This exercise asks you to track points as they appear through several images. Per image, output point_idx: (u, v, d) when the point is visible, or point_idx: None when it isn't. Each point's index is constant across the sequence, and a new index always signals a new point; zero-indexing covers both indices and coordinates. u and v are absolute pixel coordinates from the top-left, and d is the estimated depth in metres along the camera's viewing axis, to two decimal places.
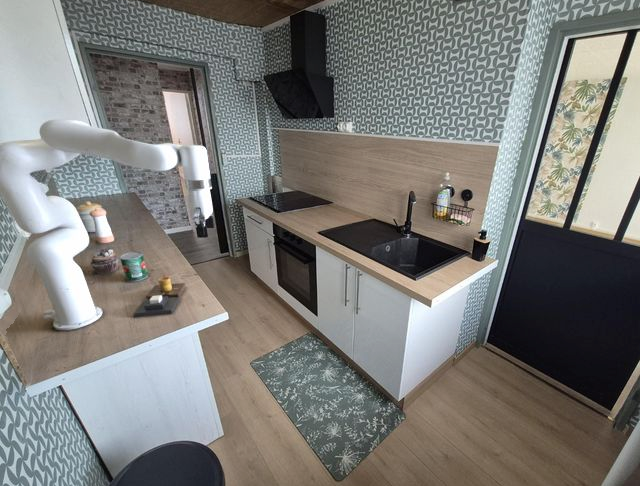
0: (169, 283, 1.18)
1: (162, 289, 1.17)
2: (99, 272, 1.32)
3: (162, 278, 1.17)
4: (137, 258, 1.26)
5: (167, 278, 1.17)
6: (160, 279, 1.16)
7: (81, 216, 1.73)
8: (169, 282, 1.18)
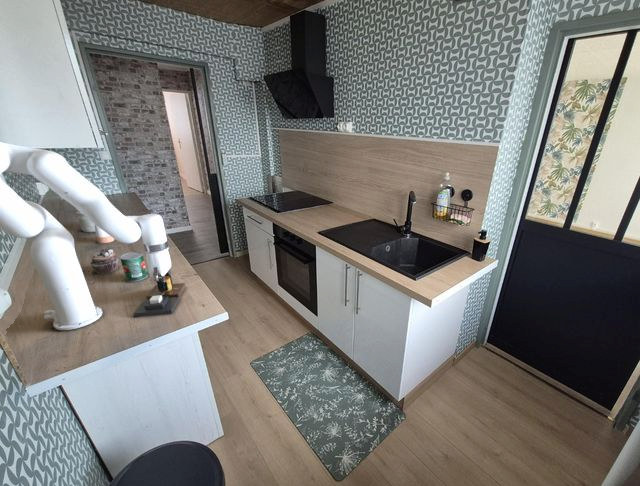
0: (169, 283, 1.18)
1: None
2: (99, 272, 1.32)
3: None
4: (137, 258, 1.26)
5: (167, 278, 1.17)
6: None
7: (81, 216, 1.73)
8: (169, 282, 1.18)
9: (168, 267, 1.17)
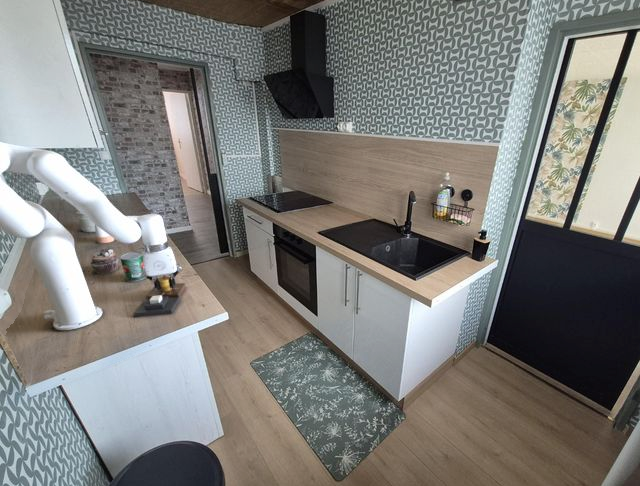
0: None
1: None
2: (99, 272, 1.32)
3: (163, 279, 1.17)
4: (137, 258, 1.26)
5: (165, 276, 1.18)
6: (165, 279, 1.17)
7: (81, 216, 1.73)
8: None
9: None
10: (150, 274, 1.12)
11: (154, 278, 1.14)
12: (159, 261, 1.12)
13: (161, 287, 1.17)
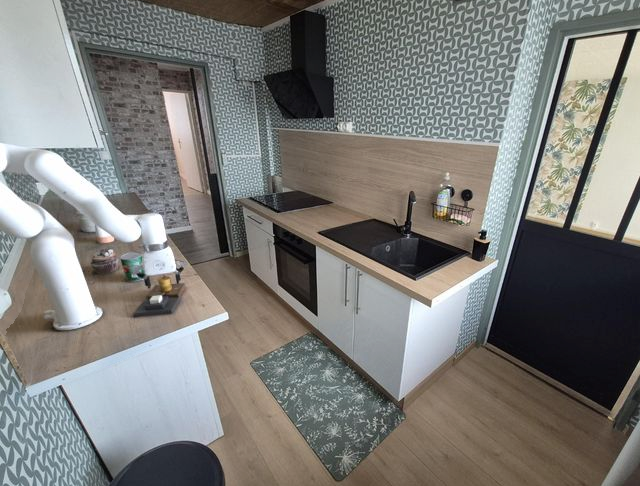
0: None
1: (171, 286, 1.19)
2: (99, 272, 1.32)
3: (163, 279, 1.17)
4: (137, 258, 1.26)
5: (165, 276, 1.18)
6: (165, 279, 1.17)
7: (81, 216, 1.73)
8: None
9: None
10: (149, 273, 1.12)
11: (145, 276, 1.12)
12: (158, 260, 1.12)
13: (161, 287, 1.17)
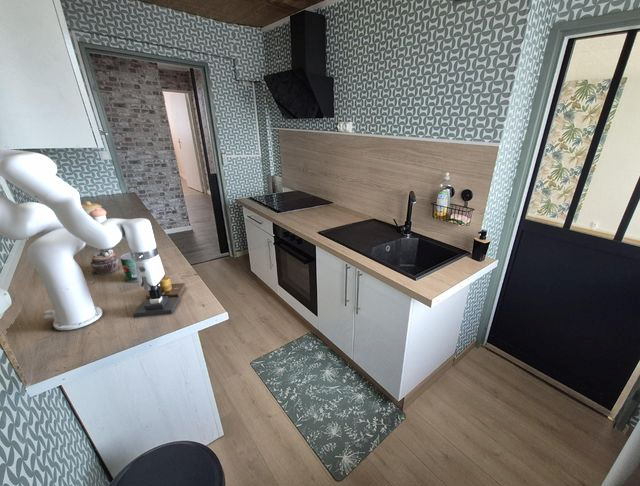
0: None
1: (171, 286, 1.19)
2: (99, 272, 1.32)
3: (163, 279, 1.17)
4: None
5: (165, 276, 1.18)
6: (165, 279, 1.17)
7: None
8: None
9: None
10: (156, 282, 1.04)
11: (156, 285, 1.07)
12: (157, 265, 1.05)
13: (161, 287, 1.17)
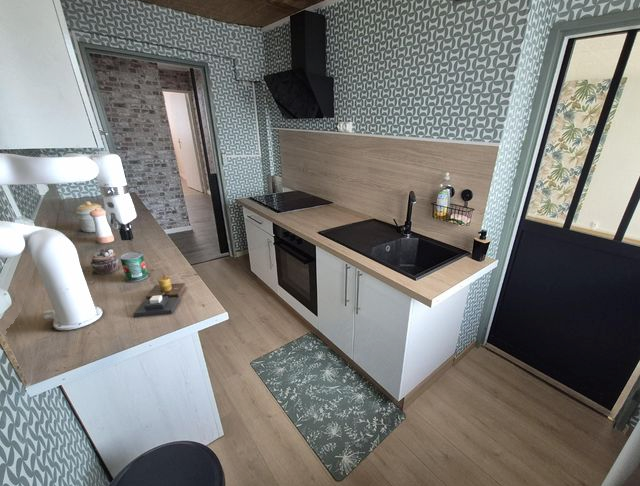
0: None
1: (171, 286, 1.19)
2: (99, 272, 1.32)
3: (163, 279, 1.17)
4: (137, 258, 1.26)
5: (165, 276, 1.18)
6: (165, 279, 1.17)
7: (81, 216, 1.73)
8: None
9: None
10: (126, 221, 1.03)
11: (127, 226, 1.06)
12: (128, 205, 1.04)
13: (161, 287, 1.17)
